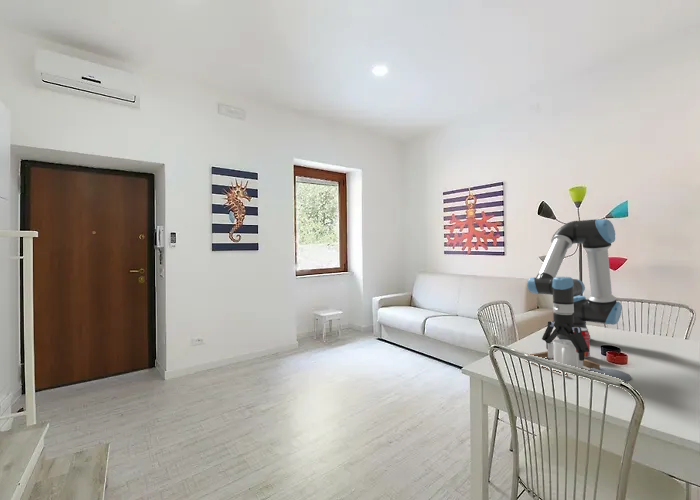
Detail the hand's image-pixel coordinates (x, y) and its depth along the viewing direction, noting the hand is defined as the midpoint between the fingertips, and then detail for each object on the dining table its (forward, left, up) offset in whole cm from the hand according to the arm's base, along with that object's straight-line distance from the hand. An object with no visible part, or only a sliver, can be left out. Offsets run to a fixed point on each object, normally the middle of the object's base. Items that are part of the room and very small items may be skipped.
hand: (564, 362), depth 145 cm
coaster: (+13, +8, -2) cm, 15 cm away
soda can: (-7, +18, -2) cm, 20 cm away
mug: (0, 0, -2) cm, 2 cm away
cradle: (-2, 0, -2) cm, 3 cm away
